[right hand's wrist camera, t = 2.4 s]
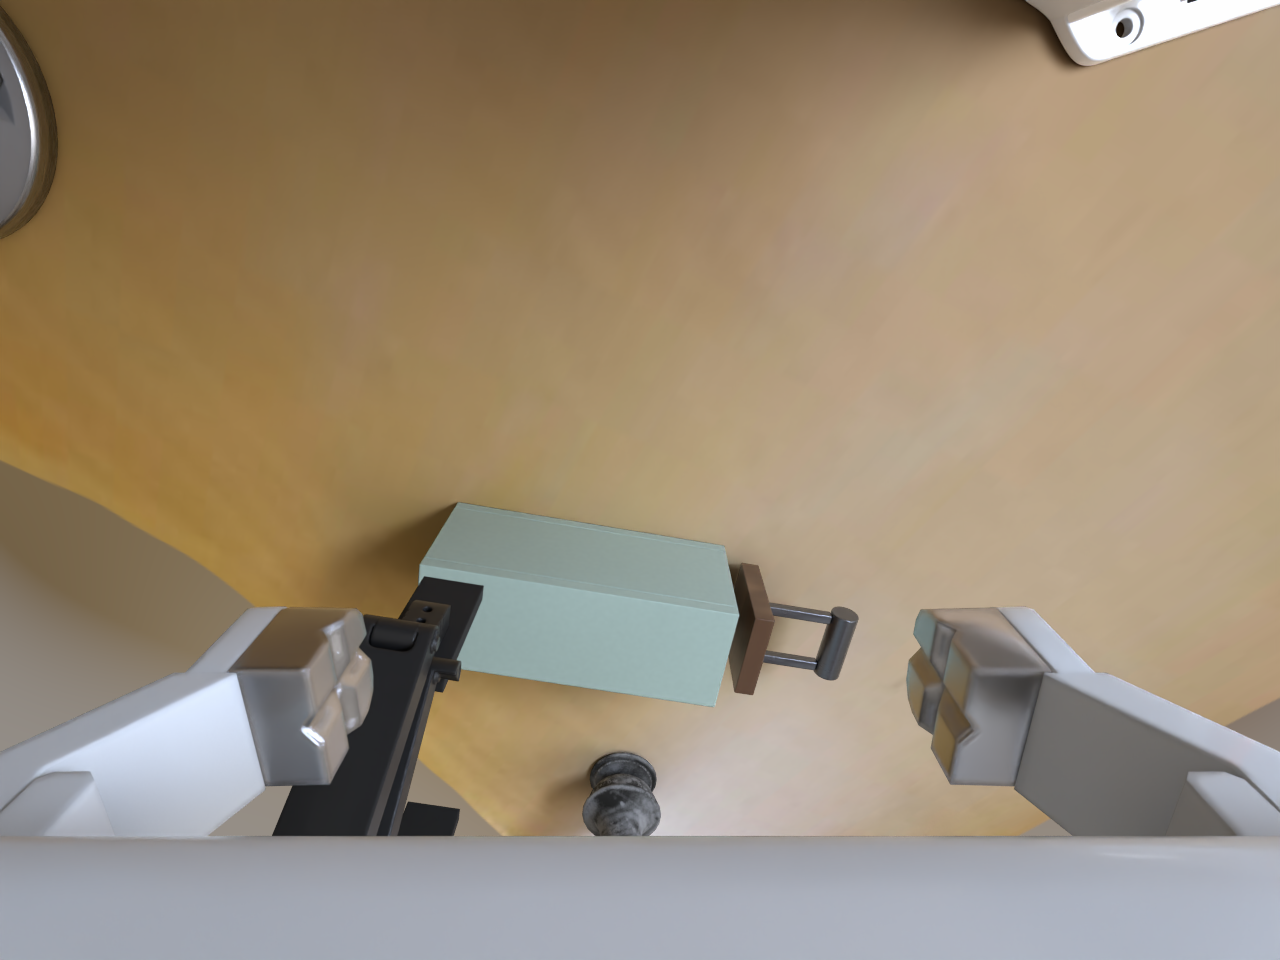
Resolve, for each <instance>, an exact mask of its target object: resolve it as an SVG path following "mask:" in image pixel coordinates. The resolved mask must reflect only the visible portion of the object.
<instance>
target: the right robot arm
mask: <svg viewBox="0 0 1280 960" xmlns="http://www.w3.org/2000/svg"><path fill="white" fill-rule="evenodd" d="M1025 1H1026V2H1028V3H1029V4H1031V5H1032V6H1034V7H1035V8H1036V9H1038V10H1039V11H1040V12H1042V13H1043V14H1044V15H1045V16H1046V17H1047V18H1048V19H1049V20H1050V21H1051V24H1052V26H1053V28H1054V30H1055V32H1056V34H1057V36H1058V38H1059V40H1060V42H1061V44H1062V45H1063V47H1064V49H1065V50H1066V52H1067V53H1068V55H1069V56H1070V57H1071V58H1072V59H1073V60H1074V61H1075V62H1076V63H1077V64H1080V65H1083V66H1092V65H1096V64H1099V63H1102V62H1106V61H1109V60H1112V59H1115V58H1118V57H1121V56H1124V55H1127V54H1130V53H1133V52H1136V51H1139V50H1142V49H1145V48H1148V47H1152V46H1155V45H1158V44H1161V43H1164V42H1167V41H1170V40H1173V39H1176V38H1179V37H1182V36H1185V35H1188V34H1191V33H1194V32H1198V31H1201V30H1204V29H1207V28H1210V27H1213V26H1216V25H1219V24H1222V23H1225V22H1228V21H1231V20H1234V19H1237V18H1240V17H1244V16H1247V15H1250V14H1253V13H1256V12H1259V11H1262V10H1265V9H1268V8H1271V7H1274V6H1277V5H1280V0H1025ZM1119 21H1120V22H1122V23H1123V25H1124V33H1123V35H1122V37H1121V38H1120V37H1118V36H1117V34H1116V26H1117V24H1118V23H1119ZM913 634H914V636H915V638H916V639H917V641H918V643H919V644H920V646H921V648H920V649H919V650H918V651H917V652H916V653H915V654H914V655H913V656H912V657H911V658H910V660H909V663H908V671H907V679H906V681H907V693H908V700H909V704H910V707H911V710H912V713H913V715H914V717H915V719H916V721H917V723H918V725H919V726H921V727H922V728H924V729H925V730H927V731H928V732H929V733H931V734H932V735H933V738H932V744H931V750H932V751H933V753H934V755H935V757H936V759H937V761H938V763H939V764H940V766H941V768H942V770H943V772H944V774H945V776H946V777H947V779H948V781H949V783H950V784H951V785H987V786H1015V788H1014V789H1015V790H1016V791H1017V792H1018V793H1020V794H1021V795H1022V796H1023V797H1025V798H1026V799H1027V800H1028V801H1030V802H1031V803H1032V804H1033V805H1035V806H1036V807H1037V808H1038V809H1040V810H1041V811H1042V812H1043V813H1045V814H1046V815H1047V816H1049V817H1050V818H1051V819H1052V820H1054V821H1055V822H1056V823H1057V824H1059V825H1060V826H1061V827H1062V828H1064V829H1065V830H1066V831H1067V832H1069V833H1070V834H1071V835H1072V836H208V835H209V834H210V833H212V832H213V831H214V830H215V829H217V828H218V827H219V826H220V825H222V824H223V823H224V822H225V821H227V820H228V819H229V818H230V817H232V816H233V815H234V814H236V813H237V812H238V811H239V810H241V809H242V808H243V807H244V806H246V805H247V804H248V803H249V802H251V801H252V800H253V799H254V798H256V797H257V796H258V795H259V794H261V793H262V792H263V791H264V790H265V789H266V788H265V786H292V785H327V784H330V783H331V781H332V779H333V778H334V776H335V774H336V772H337V770H338V768H339V766H340V764H341V763H342V761H343V759H344V757H345V755H346V753H347V751H348V750H349V744H348V738H347V735H348V734H349V733H351V732H352V731H354V730H355V729H356V728H358V727H359V726H361V725H362V723H363V721H364V719H365V717H366V715H367V713H368V711H369V707H370V703H371V698H372V694H373V669H372V663H371V660H370V658H369V657H368V656H367V655H366V654H365V653H364V652H363V651H362V650H361V649H360V648H359V646H360V644H361V643H362V641H363V639H364V638H365V636H366V635H367V633H366V629H365V624H364V619H363V615H362V614H361V613H360V611H359V610H358V609H357V608H318V607H289V608H288V607H285V606H284V607H254V608H249V609H247V610H246V611H245V612H244V613H243V614H242V615H241V616H240V617H239V618H238V619H237V620H236V621H235V622H234V623H233V624H232V625H231V626H230V627H229V628H228V629H227V630H226V631H225V632H224V633H223V634H222V635H221V636H220V637H219V638H218V639H217V640H216V641H215V642H214V643H213V644H212V646H211V647H210V648H209V649H208V650H207V651H206V652H205V653H204V654H203V655H202V656H201V657H200V658H199V659H198V660H197V661H196V662H195V663H194V664H193V665H192V666H191V667H190V668H189V669H188V670H187V671H186V672H185V673H172V674H170V675H168V676H165V677H163V678H161V679H159V680H157V681H154V682H152V683H150V684H148V685H146V686H144V687H141V688H139V689H137V690H135V691H133V692H130V693H128V694H126V695H124V696H122V697H119V698H117V699H115V700H113V701H111V702H108V703H106V704H104V705H102V706H100V707H98V708H95V709H93V710H91V711H89V712H86V713H84V714H82V715H80V716H78V717H76V718H73V719H71V720H69V721H67V722H64V723H62V724H60V725H58V726H56V727H53V728H51V729H49V730H47V731H45V732H43V733H40V734H38V735H36V736H34V737H32V738H29V739H27V740H25V741H23V742H21V743H18V744H16V745H14V746H12V747H10V748H7V749H5V750H3V751H1V752H0V960H1280V752H1279V751H1277V750H1274V749H1272V748H1270V747H1268V746H1266V745H1263V744H1261V743H1259V742H1257V741H1255V740H1252V739H1250V738H1248V737H1246V736H1244V735H1241V734H1239V733H1237V732H1235V731H1233V730H1230V729H1228V728H1226V727H1224V726H1222V725H1220V724H1217V723H1215V722H1213V721H1211V720H1209V719H1206V718H1204V717H1202V716H1200V715H1198V714H1196V713H1193V712H1191V711H1189V710H1187V709H1185V708H1182V707H1180V706H1178V705H1176V704H1174V703H1171V702H1169V701H1167V700H1165V699H1163V698H1161V697H1158V696H1156V695H1154V694H1152V693H1150V692H1147V691H1145V690H1143V689H1141V688H1139V687H1136V686H1134V685H1132V684H1130V683H1128V682H1125V681H1123V680H1121V679H1119V678H1117V677H1115V676H1112V675H1110V674H1108V673H1095V672H1094V671H1093V670H1092V669H1091V668H1090V667H1089V666H1088V665H1087V664H1086V663H1085V662H1084V661H1083V660H1082V659H1081V658H1080V657H1079V656H1078V655H1077V654H1076V653H1075V652H1074V651H1073V650H1072V648H1071V647H1070V646H1069V645H1068V644H1067V643H1066V642H1065V641H1064V640H1063V639H1062V638H1061V637H1060V636H1059V635H1058V634H1057V633H1056V632H1055V631H1054V630H1053V629H1052V628H1051V627H1050V626H1049V625H1048V624H1047V623H1046V622H1045V621H1044V620H1043V619H1042V618H1041V617H1040V615H1039V614H1038V613H1037V612H1036V611H1035V610H1033V609H1031V608H1028V607H1026V606H1017V607H991V608H956V609H922V610H920V612H919V614H918V616H917V618H916V622H915V628H914V633H913Z"/></svg>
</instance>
